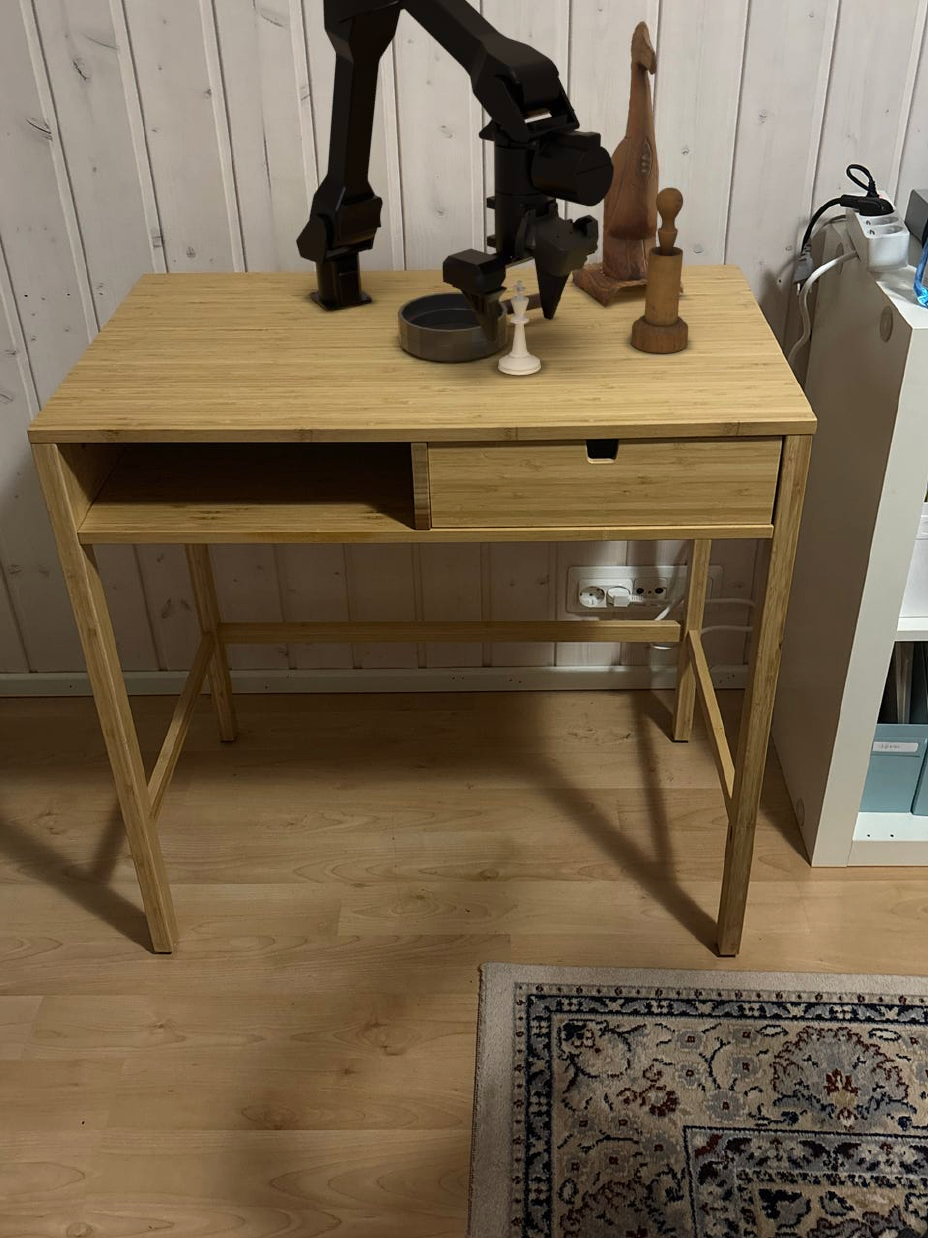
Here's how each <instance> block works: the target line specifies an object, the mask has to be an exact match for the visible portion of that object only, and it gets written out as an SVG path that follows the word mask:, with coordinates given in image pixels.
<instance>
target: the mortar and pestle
mask: <svg viewBox="0 0 928 1238" xmlns="http://www.w3.org/2000/svg"><path fill="white" fill-rule="evenodd" d="M683 206H684V196H683V194H682V192H681V191H680V190H679V189H677V188H675V187H665V188H663V189H661V190H660V191H658V196H657V198H656V207H657V210H658V214H659V216H660V219H661V226H660V227H659V228H657V238H658V244H659V245H657V246H656V247H653V248H651V249H650V250H649V258H648V274H647V280H646V281H647V284H646V289H645V305H644V314H643V315H641V316H640V317H639V318H637V319H636V320H635V321H634V322H633V323H632V326H631V338H630V340H631V341H630V343H631V345H632V346H633V347H634V348H636V349H638V350H639V351H643V352H647V353H659V354H671V353H676V352H680V351H682V350H684V349H685V348H686V347H687V346H688V341H689V339H688V338H689V324H688V323H687V322H686V321H685V320H684V319H683V318H682V317H680V316H679V308H680V307H679V305H680V294H681V293H680V281H681V279H682V270H683V269H682V268H683V260H684V259H683V257H684V250H683V249H682V248H680V247H678V246H675V243H676V240H677V237H678V233H679V230H678V228H677V227H676V224H675V223H676V218H677V216H678V215H679V214H680V211H681V210H682V208H683ZM681 282H682V281H681Z"/></svg>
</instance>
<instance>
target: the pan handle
mask: <svg viewBox="0 0 928 1238" xmlns="http://www.w3.org/2000/svg"><path fill="white" fill-rule="evenodd" d="M525 296H526V297H527V298H528V299H529V302H528V305H527V307H526V311H525V312H528V311H533V310H538V309H542V307H541V301H540V294H539V292H537V293H532V294H528V295H525ZM561 299H562V297H561V298H560V301H559V303H561ZM500 301H501V302H502V303H504V304H505V306H506V308H507V309H508V316H510V315H515V312H514V309H513V306H512V303H511V298H507V299H504V300H500ZM498 312H499V309H498ZM498 315H499V314H498Z"/></svg>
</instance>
